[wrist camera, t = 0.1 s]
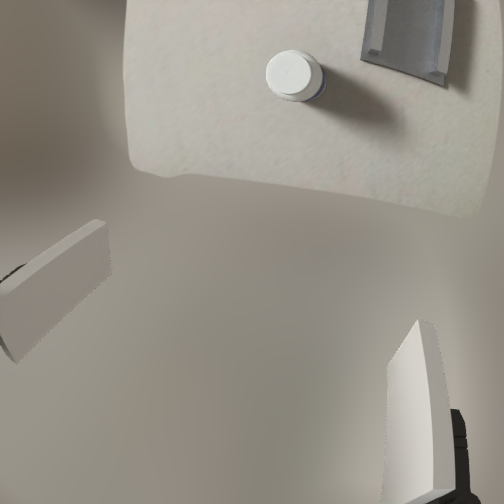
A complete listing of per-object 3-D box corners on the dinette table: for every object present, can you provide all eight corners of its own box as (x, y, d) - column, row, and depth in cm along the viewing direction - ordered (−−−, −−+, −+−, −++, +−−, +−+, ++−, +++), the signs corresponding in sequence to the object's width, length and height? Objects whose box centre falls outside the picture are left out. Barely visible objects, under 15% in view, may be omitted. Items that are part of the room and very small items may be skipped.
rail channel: (373, -47, 19) (375, -60, 16) (451, -22, 18) (460, -32, 14) (360, 59, 28) (361, 54, 24) (441, 86, 26) (451, 84, 23)
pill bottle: (331, 65, 29) (326, 52, 21) (320, 107, 32) (311, 108, 24) (286, 54, 30) (265, 39, 22) (276, 95, 33) (252, 94, 24)
